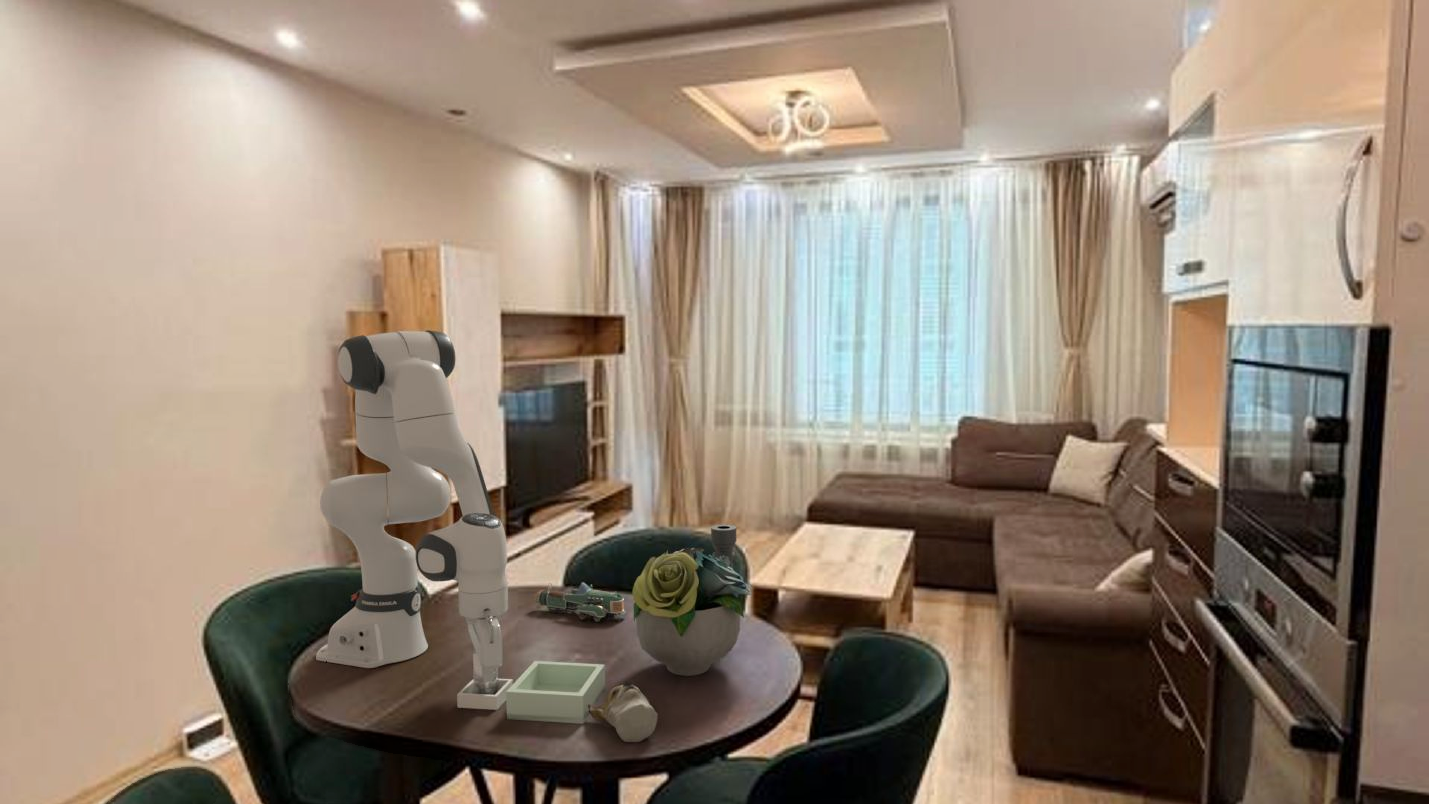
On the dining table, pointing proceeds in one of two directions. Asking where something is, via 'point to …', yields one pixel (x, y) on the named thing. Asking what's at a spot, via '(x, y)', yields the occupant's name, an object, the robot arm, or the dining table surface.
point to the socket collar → (483, 696)
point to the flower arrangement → (688, 609)
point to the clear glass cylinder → (479, 684)
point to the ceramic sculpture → (627, 713)
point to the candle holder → (724, 541)
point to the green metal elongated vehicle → (583, 602)
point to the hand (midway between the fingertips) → (485, 674)
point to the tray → (556, 692)
